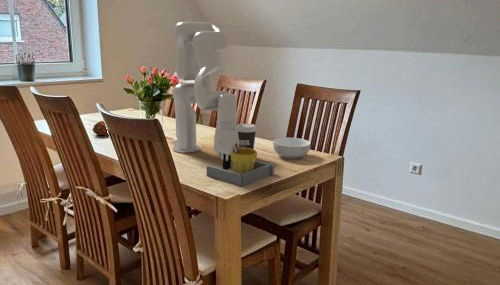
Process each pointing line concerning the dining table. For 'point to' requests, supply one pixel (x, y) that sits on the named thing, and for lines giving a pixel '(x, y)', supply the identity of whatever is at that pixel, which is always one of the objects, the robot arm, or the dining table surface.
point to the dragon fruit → (100, 128)
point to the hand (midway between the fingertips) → (226, 169)
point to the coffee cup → (246, 135)
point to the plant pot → (244, 160)
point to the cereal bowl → (291, 147)
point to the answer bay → (257, 173)
